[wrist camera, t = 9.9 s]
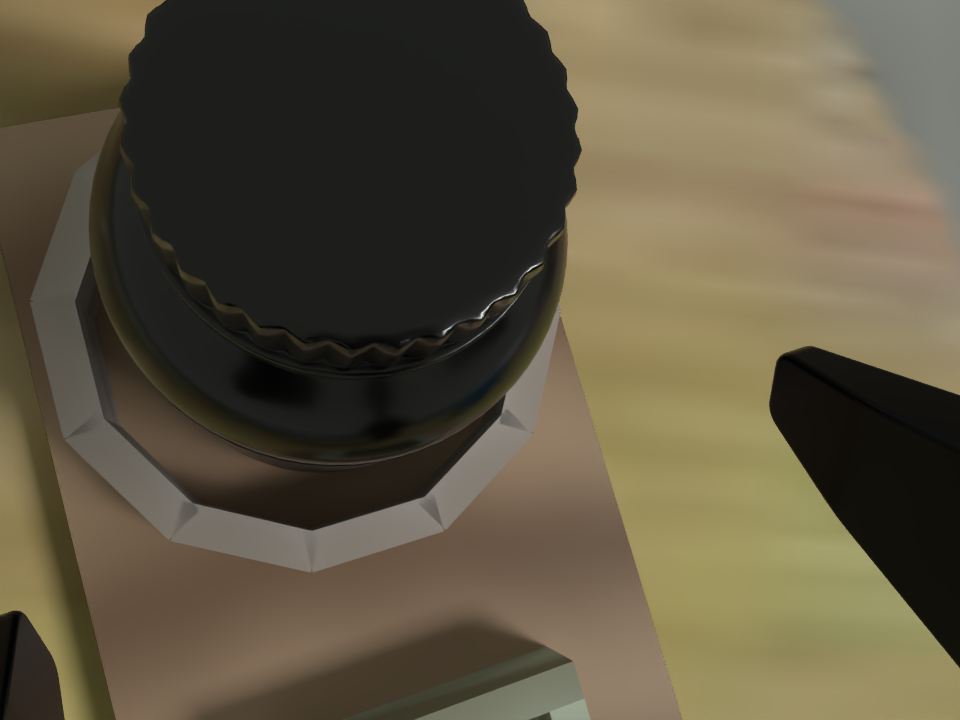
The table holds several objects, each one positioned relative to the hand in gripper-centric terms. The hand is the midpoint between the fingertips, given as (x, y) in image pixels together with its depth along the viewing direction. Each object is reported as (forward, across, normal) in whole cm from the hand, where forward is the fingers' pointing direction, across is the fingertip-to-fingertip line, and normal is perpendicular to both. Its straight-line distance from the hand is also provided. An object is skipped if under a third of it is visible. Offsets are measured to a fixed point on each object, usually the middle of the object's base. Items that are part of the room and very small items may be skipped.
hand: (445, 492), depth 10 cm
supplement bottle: (+10, 0, +5) cm, 11 cm away
